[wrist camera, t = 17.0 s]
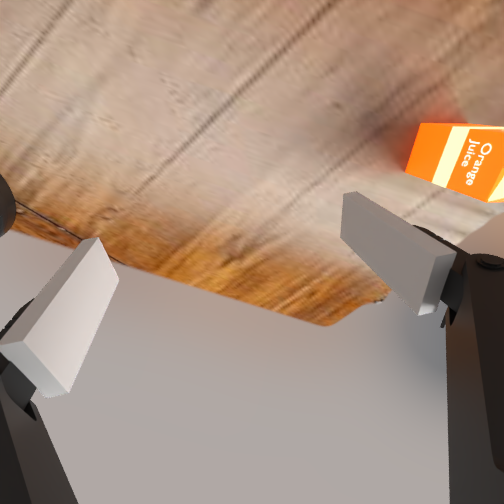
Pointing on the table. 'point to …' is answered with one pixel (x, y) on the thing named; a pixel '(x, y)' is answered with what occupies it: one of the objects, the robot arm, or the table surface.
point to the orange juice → (461, 158)
